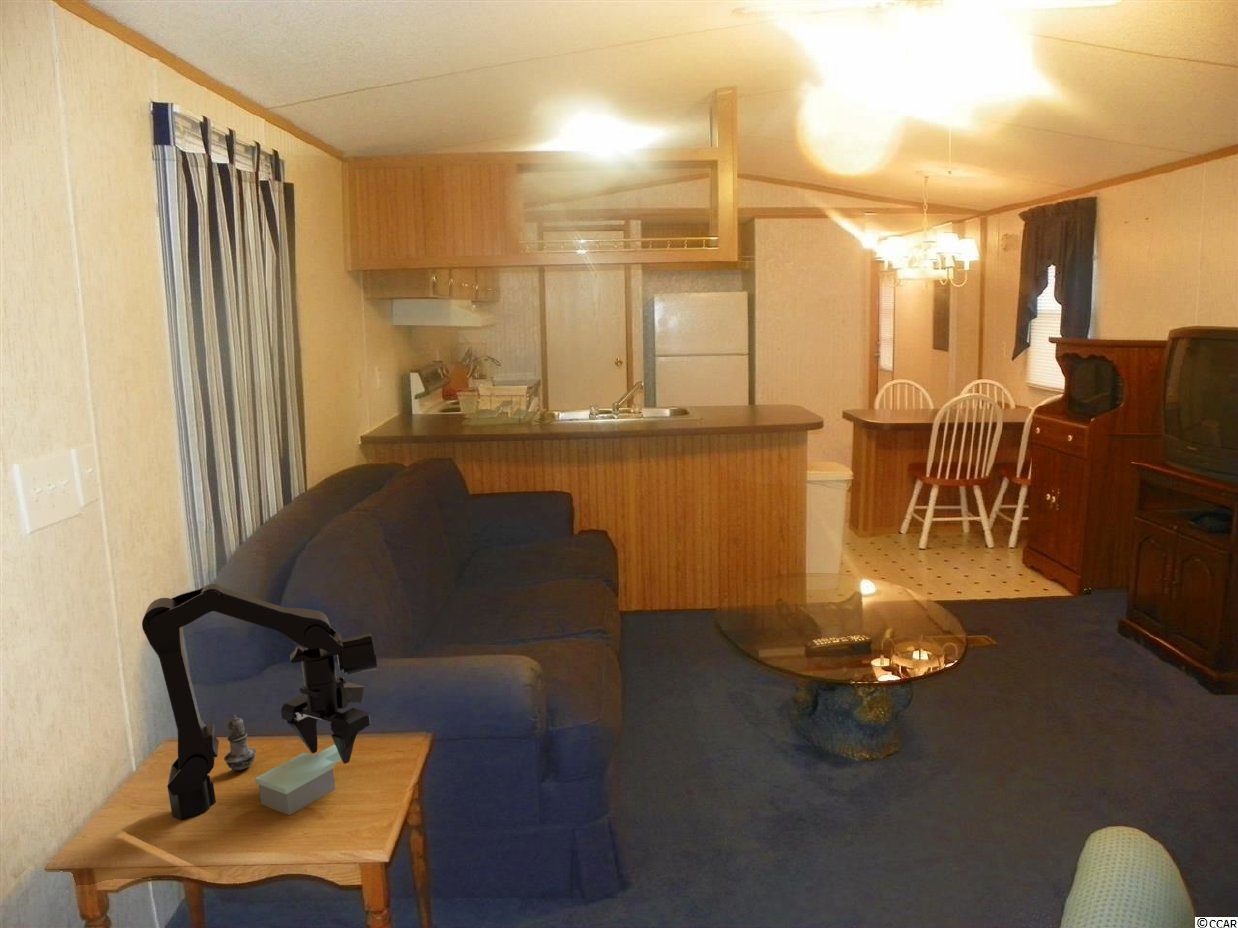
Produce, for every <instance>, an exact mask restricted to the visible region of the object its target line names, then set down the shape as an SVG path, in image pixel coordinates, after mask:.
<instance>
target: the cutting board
mask: <svg viewBox="0 0 1238 928" xmlns="http://www.w3.org/2000/svg"><path fill="white" fill-rule="evenodd" d="M340 761H342V759H341V757H340V755H339V752H338V750H337V748H336V745H335V743H334V744H333V745H331V746H329V747H327V748H326V749H323V750H322V751H319V752H318V753H316V754H314V755H313V754H312V753H311V754H310V753H307V752H301V754H298V755H297V756H295V757H293V758H290V759H289V760H287V761H285V762H283V763H281V764H279V765H278V766H275V767H274V768H272V769H270V770H268V771H266V772H264V773H262V774H260V775H258V776H256V777H255V779H254V780H255V784H257V785H258V786H259V785H262V786H265V787H268V788H270V789H273V790H276V791H278V792H281V793H284V794H288V793H290V792H291V791H293V790H295V789H297V788H298V787H300V786H302V785H304V784H306V783H307V782H309V781H311V780H313V779H315V778H316V777H318V776H320V775H322V774H324V773H325V772H327V771H329V770H331V769H333V770H334V769H335V767H336V764H337V763H339V762H340Z"/></svg>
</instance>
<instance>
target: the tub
mask: <svg viewBox="0 0 1238 928" xmlns="http://www.w3.org/2000/svg"><path fill="white" fill-rule="evenodd" d="M334 776H335V775H334V768H333V769H331V770H329V771H327V772H325V773H324V774H322V775H320V776H318V777H316V778H315V779H313V780H311V781H309V782H307V783H306V784H304V785H302V786H300V787H298V788H297V789H295V790H293V791H291V792H290V793H288V794H284V793H281V792H278V791H276V790H273V789H270V788H268V787H265V786H262V785H259V784H258V790H259V797H260V802H261V803H260V804H261V805H262V806H264V807H267V808H270V809H272V810H274V811H277V812H279V813H283V814H285V815H287V816H291V815H294V813H295V814H296V813H297V812H298V811H300V810H302V809H303V808H306V807H307V806H309V805H311V804H312V803H314V802H316V801H317V800H319V799H321V798H323V797H324V796H326V795H328V794H329V793H331V792H333V791H334V790H336V783H335V777H334Z"/></svg>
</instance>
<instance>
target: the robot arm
mask: <svg viewBox="0 0 1238 928" xmlns="http://www.w3.org/2000/svg"><path fill="white" fill-rule="evenodd" d="M211 612H215V613H218V614H222V615H225V616H228V617H231V618H234V619H238V620H241V621H244V622H248V623H251V624H253V625H256V626H257V625H258V626H260V627H264V628H268V629H270V630H273V631H276V632H277V633H279V634H281V635H283V636H284V637H286V638H287V639H289V640H290V641H292V642H294V643H296V644H298V645H296V647H295V649H294V650H293V651H292V652H291V653H290V654H289V656H290V657H289V658H290V659H289V660H290V663H291V664H296V663H301V667H302V668H301V670H302V674H303V676H302V677H303V684H304V685H303V686H301V687H300V688H299V690H300V691H299V692H300V694H302V695H300V696H297V697H296V698H294V699H291V700H288V701H287V702H285V703H283V705H282V707H281V709H280V715H281V719H282V720H285V721H286V724H288V725H289V726H290V728H292V730H293V731H294V732H295V733H296V735H297V736H298V737H299V738H300V740H301V741H302V742H303V743H304V744H305V747H306V748H307V749H308V751H309V752H310V753H311V754H315V753H317V752H318V744H319V743H318V729H317V728H318V727H317V722H318V720H320V721H321V720H323V721H326V722H329V723H330V730H331V731H332V733H333V734H331V738H332V741H333V743H334V744H335V745H336V748H337V750H338V752H339V755H340V757H341V759H342V760H341V761H342V763H343V764H344V765H346V764H348V763H350V762H351V761H350V760H351V757H352V754H353V753H352V752H353V748H354V744H355V741H356V738H357V735H358V734H359V733H360V732H361V731H363V730H365V729H366V728H367V727H369V726H371V717H370V713H368V712H367V711H365V710H361V709H358V708H355V707H353V708H349V709H348V710H346V711H344V712H342V711H340V710H342V709H345V708H347V707H349V704H354V703H358V704H363V703H364V696H365V691H366V690H365V689H366V686H365V685H362V684H357V683H353V682H347V681H346V680H345V678H344V677H342V676H339V675H338V676H337V671H336V663H335V657H334V656H337V664H338V669H339V671H343V674H345V676H346V675H352V674H357V673H358V674H359V673H363V672H368V671H373V670H377V669H378V664H377V656H376V655H377V654H376V652H375V648H374V643H373V638H372V634H371V633H370V632H369V633H363V634H361V635H357V636H352V637H347V638H342V637H341V634H340V633H338V632H337V631H336V630H335V629H334V628H333V627H332V626H331V624H330V621H329V619H328V616H327V615H326V614H325V613H324V612H322V611H320V610H316V609H308V608H302V607H284V606H282V605H278V604H274V603H272V602H268V601H265V600H261V599H259V598H256V597H252V596H249V595H247V594H243V593H240V592H238V591H234V590H231V589H228V588H225V587H222V586H221V585H219V584H216V583H210V584H206V585H205V586H203V587H200V588H198V589H194V590H191V591H188V592H187V591H186V592H184V593H182V594H179V595H176V596H174V597H172V598H169V597H160V598H157V599H154V600H153V601H152V602H150V604H149V605H148V607H147V608H146V610H145V612H144V616H143V618H142V621H141V627H142V631H143V633H144V635H145V637H146V639H147V641H148V643H149V645H150V646H151V648H152V650H153V651H154V653H156V655H157V657H158V659H159V662H160V666H161V670H162V673H163V678H164V682H165V685H166V686H165V687H166V689H167V693H168V697H169V701H170V706H171V709H172V714H173V717H174V721H175V725H176V729H177V758H176V759H175V761H174V762H173V763H172V764H171V766H170V767H171V768H170V772H169V777H168V781H167V782H168V783H167V786H166V787H167V792H168V799H169V804H170V812H171V816H172V818H174V819H176V820H179V821H185V820H187V819H192V818H197V817H199V816H201V815H203V814H205V813H206V812H208V811H209V810H210V808H211V807H212V806H213V805H215V804H216V803H217V799H216V793H215V786H214V782H213V781H212V780H211V776H210V775H209V774H210V773H211V771H212V770H213V769H214V765H215V761H216V760H215V758H218V754H219V746H220V745H219V744H220V741H219V739H218V738H217V736H216V734H215V733H216V732H215V723H214V722H212V723H210V724H207V725H206V724H205V722H204V721H203V719H202V718H201V715H200V710H199V706H198V702H197V701H198V700H197V697H196V694H195V690H194V686H193V682H192V678H191V675H190V670H189V666H188V662H187V658H186V655H185V650H184V626H187V625H189V624H191V623H192V622H194V621H196V620H198V619H199V618H201V617H203V616H204V615H207V614H209V613H211Z"/></svg>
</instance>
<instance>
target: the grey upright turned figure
mask: <svg viewBox="0 0 1238 928" xmlns="http://www.w3.org/2000/svg"><path fill="white" fill-rule="evenodd" d="M244 724H245V723H244V720H243V719H242V718H241V717H237V715H236V714H233V716H232V718H231V719H230V720H229V721H227V730H228V737H227V741H229V747H230V750H229V752H228V753H227V754H226V755H224V758H223V760H224V762H226V765H227V766H228V768H230V769H231V770H230V771H229V772H228V773H227V776H229V775H232V774H233V773H235V772H242V771H245V770H247V769H248V768H249V767H250V766H251V765H252V764H253V763H254V762H255V757H256V754H257V750H256V749H255V748H254V747H249V744H248V740H247V736H248V733H247V732H246V731H245V725H244Z"/></svg>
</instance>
